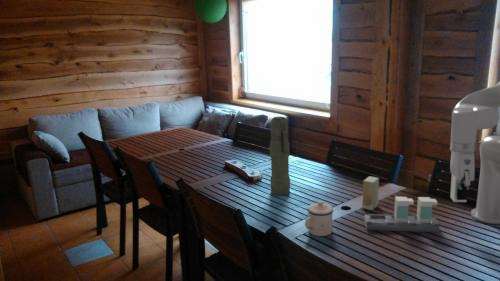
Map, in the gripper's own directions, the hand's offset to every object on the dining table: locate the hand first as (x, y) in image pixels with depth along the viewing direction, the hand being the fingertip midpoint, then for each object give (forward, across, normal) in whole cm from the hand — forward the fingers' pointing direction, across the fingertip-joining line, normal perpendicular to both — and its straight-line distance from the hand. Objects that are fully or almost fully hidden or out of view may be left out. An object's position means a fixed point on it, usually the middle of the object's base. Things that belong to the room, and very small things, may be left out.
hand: (459, 195), depth 139 cm
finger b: (+11, +2, +19) cm, 22 cm away
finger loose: (+2, 0, 0) cm, 2 cm away
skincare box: (+14, +20, +27) cm, 36 cm away
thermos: (+13, +34, +65) cm, 74 cm away
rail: (+13, +2, +19) cm, 23 cm away
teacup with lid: (+12, -4, +49) cm, 51 cm away
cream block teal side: (+12, +2, +11) cm, 16 cm away
